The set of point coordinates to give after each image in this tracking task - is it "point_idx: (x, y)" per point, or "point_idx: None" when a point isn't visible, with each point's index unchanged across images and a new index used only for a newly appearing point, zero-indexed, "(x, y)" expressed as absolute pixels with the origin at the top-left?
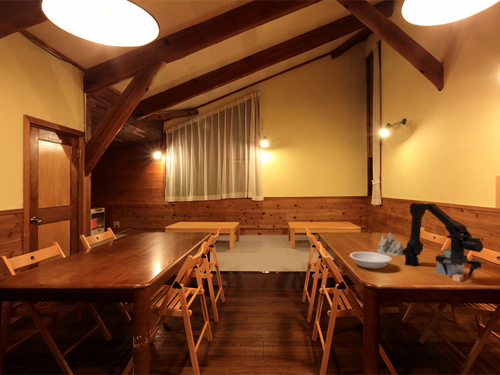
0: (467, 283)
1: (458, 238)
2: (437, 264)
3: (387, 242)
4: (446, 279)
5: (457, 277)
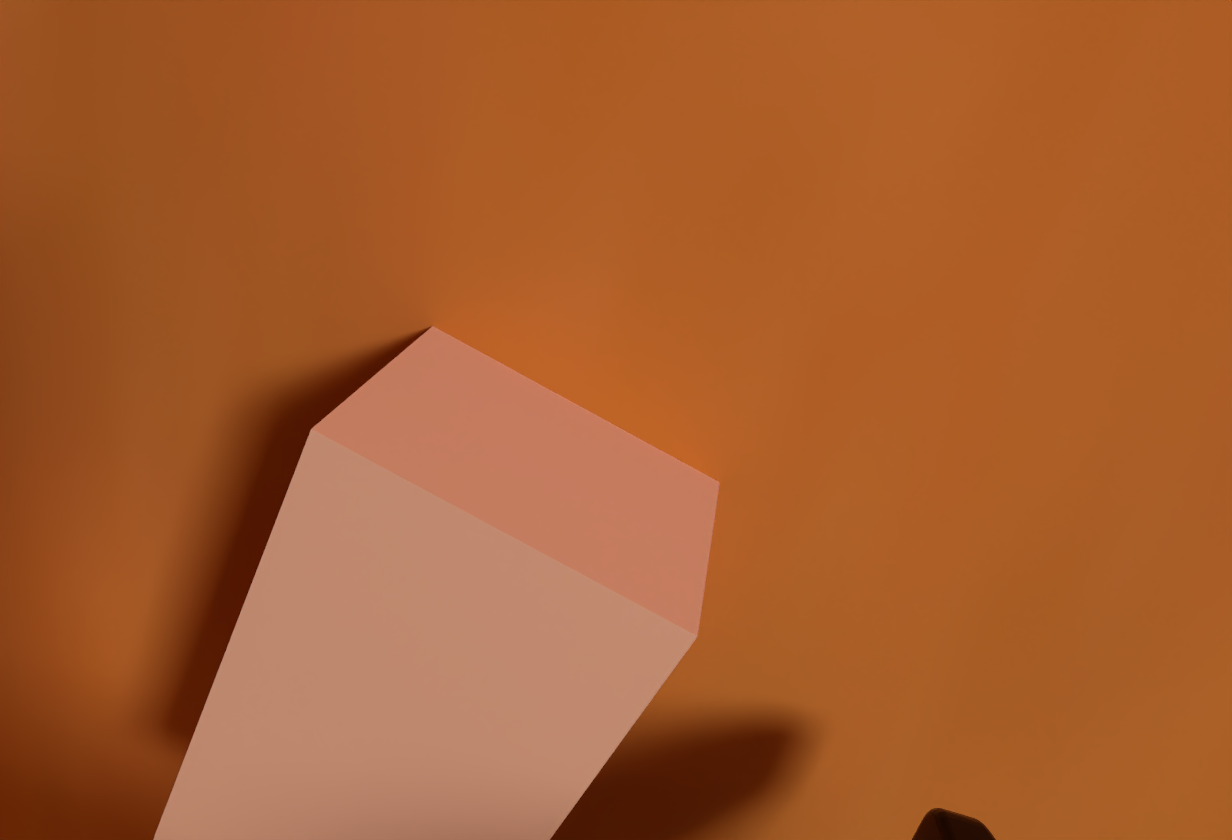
0: (103, 137)
1: None
2: None
3: None
4: (1060, 396)
5: (449, 455)
